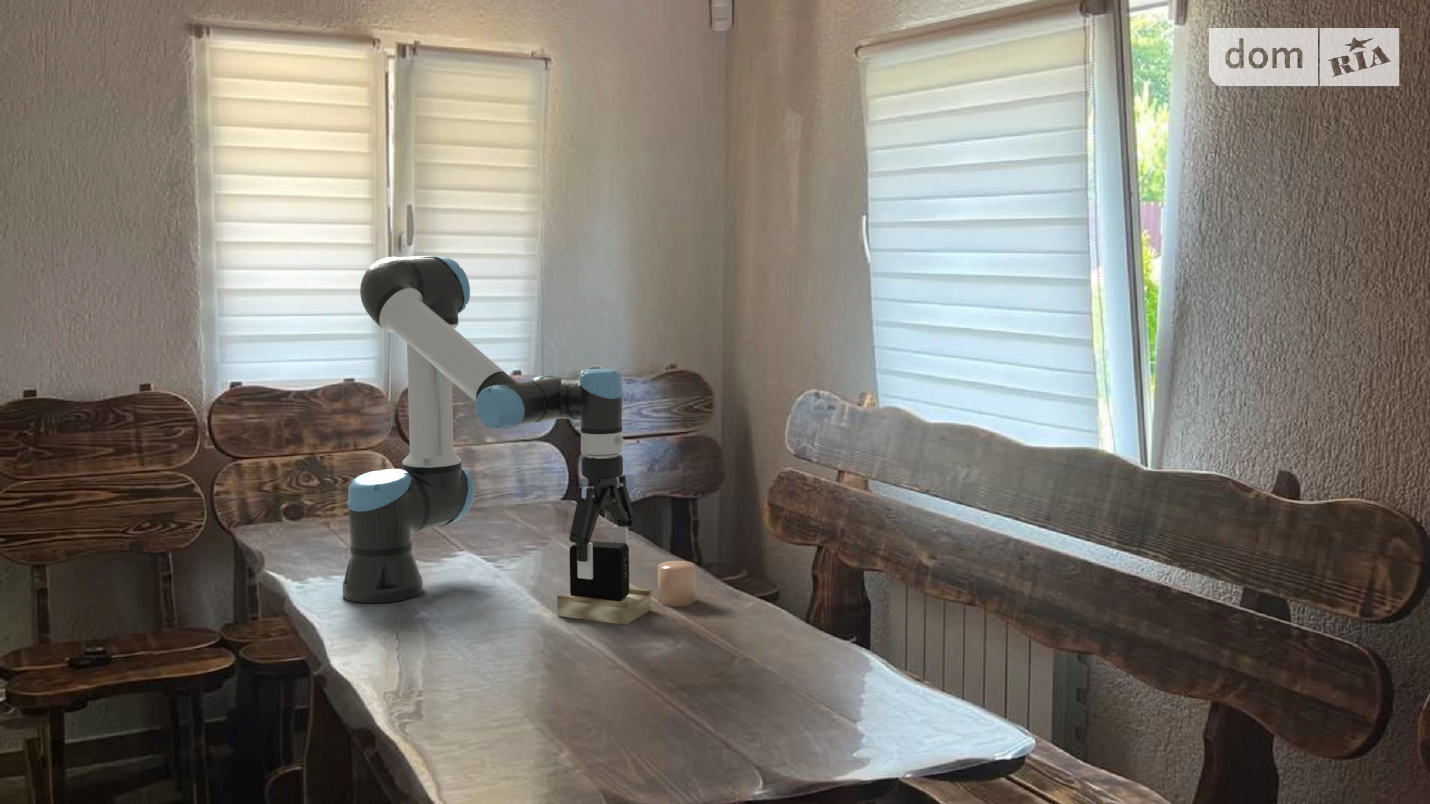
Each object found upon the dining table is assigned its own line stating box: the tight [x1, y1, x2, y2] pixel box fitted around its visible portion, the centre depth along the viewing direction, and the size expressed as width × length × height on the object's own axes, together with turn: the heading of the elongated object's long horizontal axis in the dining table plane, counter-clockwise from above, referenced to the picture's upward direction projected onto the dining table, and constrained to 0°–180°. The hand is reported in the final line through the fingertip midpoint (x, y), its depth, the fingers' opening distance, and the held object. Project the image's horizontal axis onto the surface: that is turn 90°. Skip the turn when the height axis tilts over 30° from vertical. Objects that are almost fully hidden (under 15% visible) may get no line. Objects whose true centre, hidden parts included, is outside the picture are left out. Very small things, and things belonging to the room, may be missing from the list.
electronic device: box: [568, 540, 630, 601], centre depth 238 cm, size 4×10×10 cm, turn 75°
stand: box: [556, 586, 652, 626], centre depth 240 cm, size 14×10×4 cm
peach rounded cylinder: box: [657, 560, 696, 608], centre depth 247 cm, size 7×7×7 cm
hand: (603, 569), depth 239 cm, fingers open, 13 cm apart
